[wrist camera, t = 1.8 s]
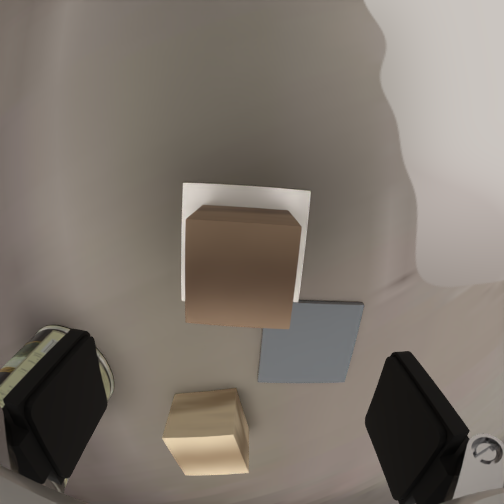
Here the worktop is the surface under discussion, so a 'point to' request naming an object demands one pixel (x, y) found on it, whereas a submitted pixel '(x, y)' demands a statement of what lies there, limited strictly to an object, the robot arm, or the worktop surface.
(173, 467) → the worktop surface
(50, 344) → the coffee can
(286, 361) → the slate coaster
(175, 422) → the maple block
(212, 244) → the walnut block
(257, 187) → the tile
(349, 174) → the worktop surface
